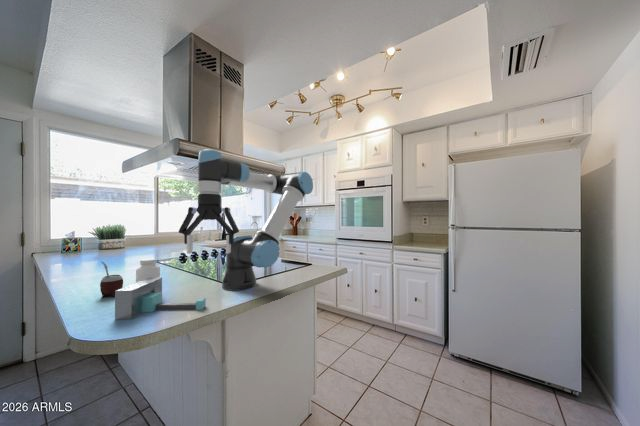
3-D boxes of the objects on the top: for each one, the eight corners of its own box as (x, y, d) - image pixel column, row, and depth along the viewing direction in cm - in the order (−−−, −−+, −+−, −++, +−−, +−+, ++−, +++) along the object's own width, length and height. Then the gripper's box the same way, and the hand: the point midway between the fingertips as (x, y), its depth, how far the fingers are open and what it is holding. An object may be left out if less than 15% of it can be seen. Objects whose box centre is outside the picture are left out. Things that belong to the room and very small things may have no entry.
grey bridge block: (161, 301, 92) (162, 277, 92) (131, 319, 76) (131, 290, 76) (148, 301, 91) (148, 277, 91) (114, 319, 75) (115, 290, 75)
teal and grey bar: (206, 305, 87) (206, 291, 87) (200, 310, 82) (200, 296, 82) (146, 306, 86) (147, 292, 86) (137, 312, 81) (137, 297, 81)
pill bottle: (150, 299, 93) (150, 261, 93) (130, 299, 93) (130, 261, 93) (164, 293, 101) (164, 257, 101) (145, 293, 101) (145, 257, 101)
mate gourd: (120, 291, 103) (121, 256, 103) (125, 295, 98) (125, 259, 98) (97, 296, 97) (97, 259, 97) (100, 300, 92) (101, 261, 92)
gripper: (247, 195, 90) (247, 251, 90) (179, 194, 89) (178, 251, 89) (242, 193, 83) (241, 254, 83) (167, 192, 82) (167, 255, 81)
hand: (209, 253), depth 86 cm, fingers open, 13 cm apart
